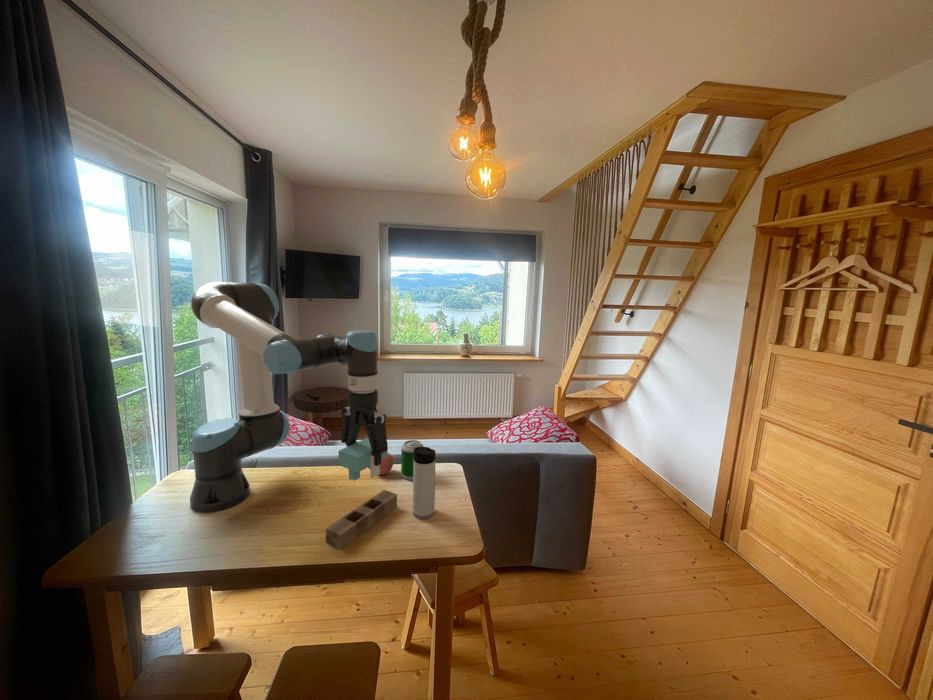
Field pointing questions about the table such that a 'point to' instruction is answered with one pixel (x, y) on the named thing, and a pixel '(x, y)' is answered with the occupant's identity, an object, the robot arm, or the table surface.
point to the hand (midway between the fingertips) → (364, 471)
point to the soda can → (408, 458)
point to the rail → (360, 519)
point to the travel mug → (423, 482)
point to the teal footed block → (357, 457)
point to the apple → (386, 464)
